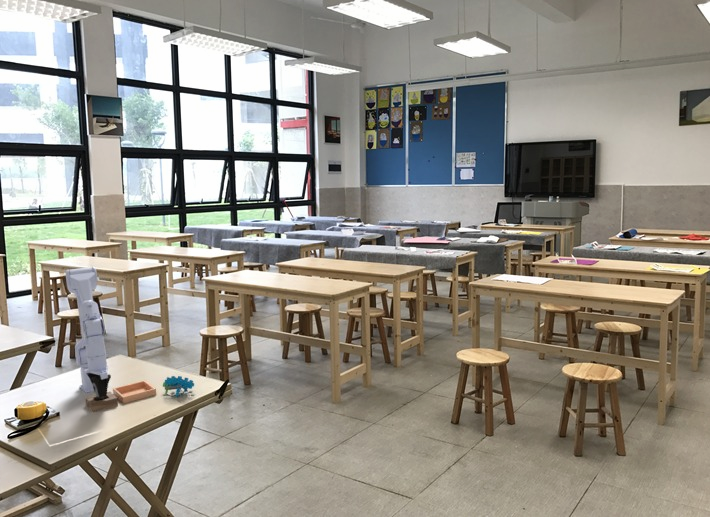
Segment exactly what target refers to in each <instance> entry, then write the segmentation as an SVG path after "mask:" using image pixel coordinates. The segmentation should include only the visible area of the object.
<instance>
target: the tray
mask: <svg viewBox="0 0 710 517" xmlns="http://www.w3.org/2000/svg"><path fill="white" fill-rule="evenodd" d="M112 394H113V395H115V396H116V397H117V400H119V401H121V403H123V404H126V403H130V402H133V401H136V400H140V399H144V398H148V397H151V396H155V395H157V389H156V387H154V386H153V385H152V384H150V383H149V382H148V381H146V380H140V381H137V382H133V383H130V384H126V385H125V384H124V385H122V386H121V385H120V386H117V387H113V388H112Z"/></svg>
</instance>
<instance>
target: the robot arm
mask: <svg viewBox="0 0 710 517" xmlns="http://www.w3.org/2000/svg"><path fill="white" fill-rule="evenodd" d="M98 279H99V278H98V272H97V268H96V267H95V266H90V267H89V266H88V267H81V268H72V269H66V270H65V280H66V287H67V290H68V292H69V293H72V294H74V296H75V298H76V302H77V309H78V318H79V324H80V326H79V327H80V333H81V339H80V340H78V342H76V343H75V345H74V349H75V350H74V352H75V353H74V354H75V361H76V365H77V366H78V367H80V378H81V384H79V388H80V389H81V390H82V391H84V392H85V393H90V392H94V394H96V391H95V387H93V386H92V383H93V382H94V383H95V385H96V388H97V391H98V395H99V397H103V396H106V395H107V392H108V388H110V386H109V383H110V380H111V379H112V378H111V377H112V375H111V374H110V373H109V374H108V369H109V367H108V362H107V349H106V346H105V338H104V335H105V332H106V329H105V322H104V319H103V317H102V315H101V313H100V310H99V305H98V303H97V302H96V301H94V299H93V298H94V297H93V291H94V290H95V289H97V285H98Z"/></svg>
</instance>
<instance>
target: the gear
mask: <svg viewBox="0 0 710 517" xmlns="http://www.w3.org/2000/svg"><path fill="white" fill-rule="evenodd" d="M182 377H183V376H182V375H178V376H177V377H176V376H175V375H172V376H171V377H169V376H167V377H166V379H164V381H163V382H162V387H163V388H164V396H167V395H168V391H172V390H175V396H174V397H176V398H178V397H179V396H180V391H181V390H182V389H183V390H184V391H188V389H189V390H191V389H192V388H193V387H195V383H194V381H193V380H192V379H190V380H189V377H184V378H182Z"/></svg>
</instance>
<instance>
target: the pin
mask: <svg viewBox="0 0 710 517" xmlns="http://www.w3.org/2000/svg"><path fill="white" fill-rule="evenodd" d="M92 386H93V387H95V391H96V393H95V395H96V400H97V401H100V400H104V399H106V396H103V397H99V395H98V391H97V388H96V385H95V383H94V382H93V383H92ZM95 391H94V392H95Z"/></svg>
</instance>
